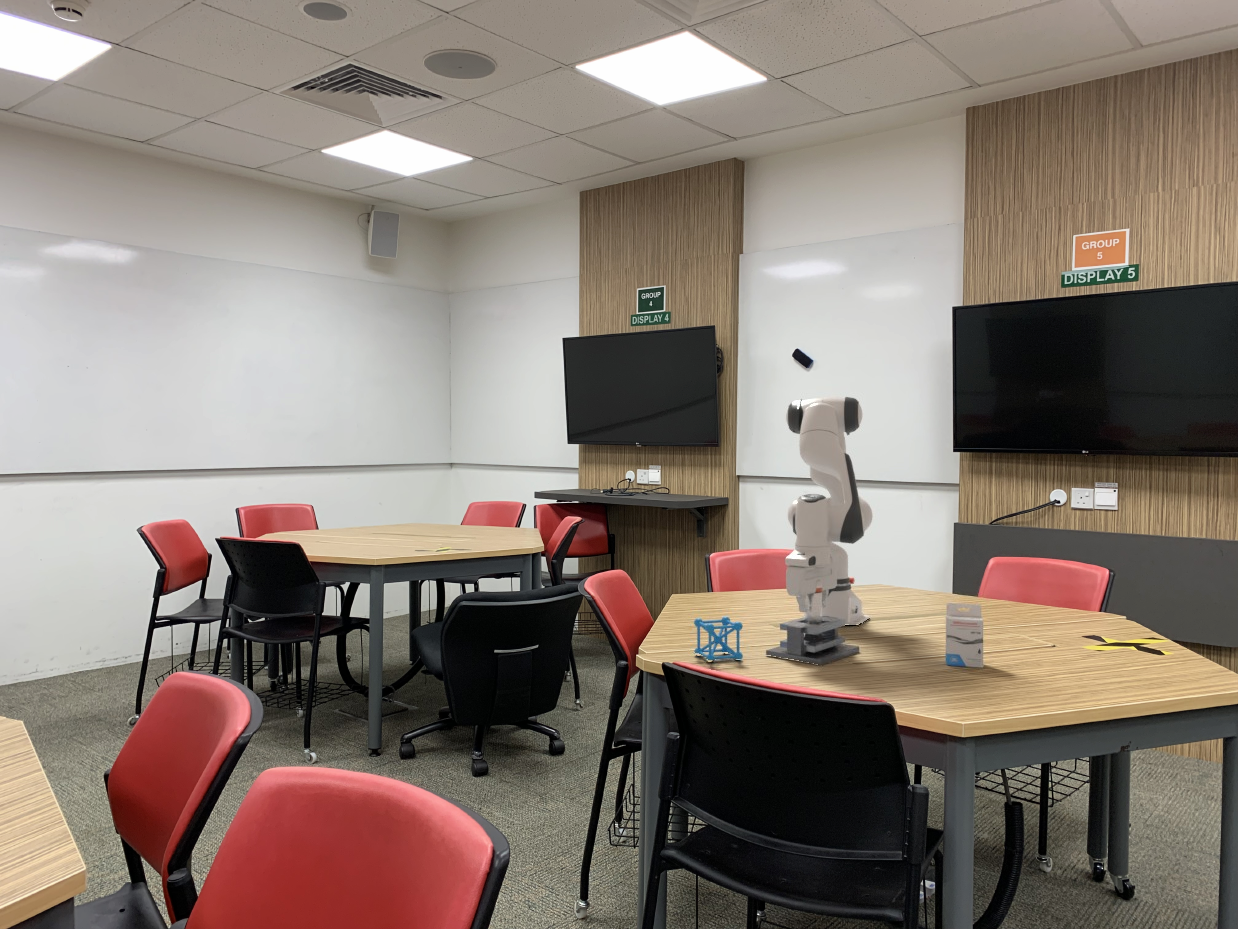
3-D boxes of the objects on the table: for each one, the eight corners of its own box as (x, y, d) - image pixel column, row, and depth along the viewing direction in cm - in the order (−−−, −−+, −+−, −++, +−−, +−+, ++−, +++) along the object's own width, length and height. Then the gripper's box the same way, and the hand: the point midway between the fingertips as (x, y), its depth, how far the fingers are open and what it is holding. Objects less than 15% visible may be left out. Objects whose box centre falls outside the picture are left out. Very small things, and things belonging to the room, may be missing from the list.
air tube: (809, 645, 228) (809, 577, 228) (825, 648, 225) (825, 579, 225) (800, 648, 224) (800, 579, 224) (816, 651, 221) (816, 581, 221)
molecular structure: (744, 661, 217) (744, 622, 217) (707, 664, 214) (707, 624, 214) (728, 653, 227) (727, 615, 227) (692, 655, 224) (692, 617, 224)
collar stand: (805, 643, 237) (805, 613, 237) (859, 652, 226) (859, 620, 226) (766, 656, 223) (765, 623, 222) (821, 665, 212) (821, 631, 212)
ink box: (946, 665, 211) (945, 605, 211) (945, 661, 216) (945, 602, 216) (983, 668, 208) (983, 607, 208) (982, 663, 213) (982, 604, 213)
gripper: (821, 552, 234) (821, 603, 234) (781, 559, 219) (781, 613, 219) (842, 554, 230) (842, 605, 230) (803, 561, 215) (803, 616, 215)
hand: (812, 609), depth 225 cm, fingers open, 8 cm apart
